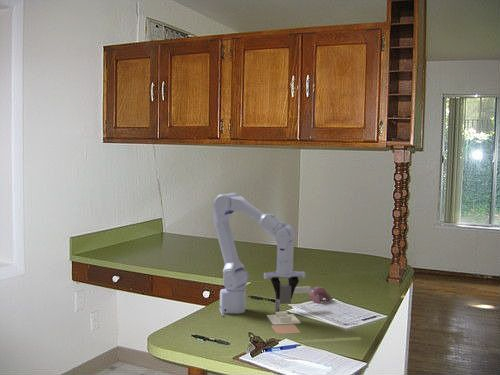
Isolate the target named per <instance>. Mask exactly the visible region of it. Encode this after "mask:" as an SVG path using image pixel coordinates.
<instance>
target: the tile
mask: <svg viewBox="0 0 500 375" xmlns="http://www.w3.org/2000/svg"><path fill="white" fill-rule="evenodd" d="M271 327H272V330H274V332H275V333H276V335H284V334H286V335H287V334H301V331H300V330H299V329H298V328H297V327H296V325H295V324H275V325H273V324H272V325H271Z"/></svg>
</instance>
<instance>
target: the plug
mask: <svg viewBox="0 0 500 375" xmlns="http://www.w3.org/2000/svg"><path fill="white" fill-rule="evenodd" d="M277 301H278V302H279V303H280V305H282V304H285V305H286V304H288V305H289V304H292V299H291V286H290V285H289V282H288V283H280V289H279V299H277Z"/></svg>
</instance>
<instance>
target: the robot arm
mask: <svg viewBox="0 0 500 375" xmlns="http://www.w3.org/2000/svg"><path fill="white" fill-rule="evenodd" d="M212 205H213V213H212V222H213V225H214V229H215V232H216V236H217V241H218V244H219V248H220V251H221V255H222V259H223V263H224V266H223V269H222V275H223V276H222V277H223V278H222V283H223V284H222V285H223V286H224V288H222V289H220V291H219V312H220V314H221V316H223V317H225V314H242V313H243V314H244V313H245V312H246V299H247V298H246V297H247V296H246V295H247V292H246V291H247V289H246V288H247V286H246V285H247V283H249V279H250V275H249V272H248V271H247V270H246V268H245V264H243V263H242V262H241V261H240V258H239V254H238V251H237V248H236V245H235V240H234V236H233V233H232V229H231V225H230V223H229V219H230V218H231V216H232V215H233V213H235V211H237V212H238V211H240V212H242V213H244V214H245V215H247V216H249V217H250V218H253V220H255V221H257V222H258V224H259V226H260V228H261V229H263V230H264V231H265V232H267V233H269V234H270V235H272V236H273V237H274V239H275V241H276V242H277V243H276V246H277V247H276V270H275V271H268V272H263V278H264V280H268V279H270V281H271V284H272V286H273V289H274V293H275V294H274V295H275V297H276V299H279V289H280V284H281V281H280V279H287V280H288V284H289V285H290V286H291V300H292V299H293V295H294V294H293V292H294V290H295V288H296V287H298V286H297V285H298V284H299V281H300V280H299V279H306V271H297V270H296V271H295V270H294V243H295V242H294V240H295V239H296V238H297V229H295V227H294V226H293V225H291V224H286V223H287V222H284V221H281V220H280V219H278V218H277V217H276V215H275V214H274V213H264V212H263V211H261V210H260V209H259V208H257V207H255V205H253V204H252V203H250V202H249V201H248V200H246V198H244V197H243V195H240V194H239V193H237V192H230V193H221V194H218V195H217V196H216V197H215V198H214V200H213V202H212Z"/></svg>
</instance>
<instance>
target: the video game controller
mask: <svg viewBox="0 0 500 375" xmlns="http://www.w3.org/2000/svg"><path fill="white" fill-rule="evenodd" d="M308 297H309V299H311V301H312V302H313V303H314V304H318V305H319V304H320V305H321V303H322V302H321V301H323V300H324V299H325V300H327V299H328V300H327V301H329V300H330V301H331V300H332V296H331V294H329V292H328V291H327V290H326V289H325V287H323V286H315V287H311V292H309V293H308ZM320 300H321V301H320Z"/></svg>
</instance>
